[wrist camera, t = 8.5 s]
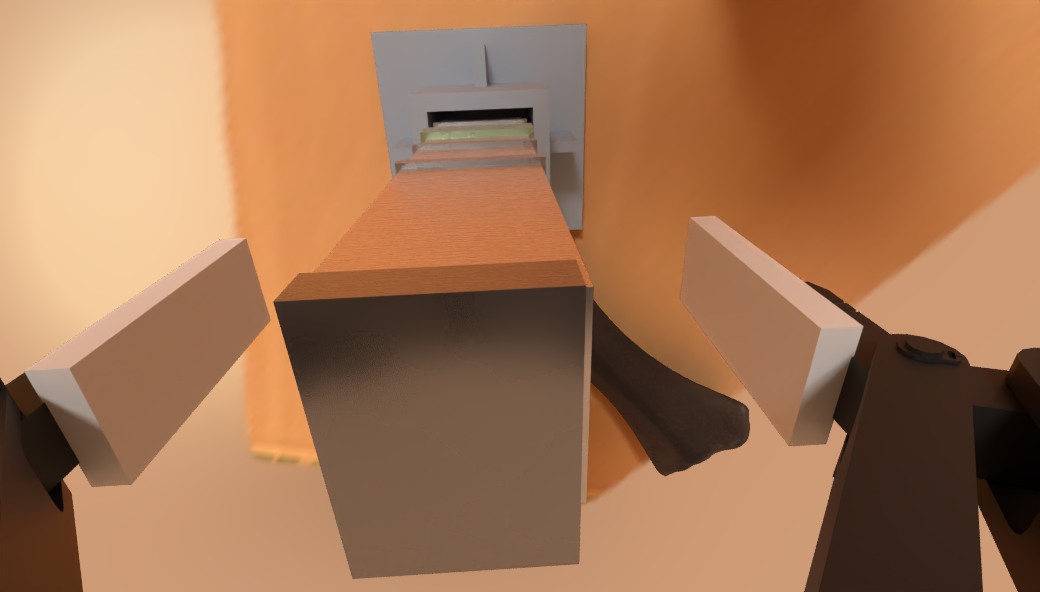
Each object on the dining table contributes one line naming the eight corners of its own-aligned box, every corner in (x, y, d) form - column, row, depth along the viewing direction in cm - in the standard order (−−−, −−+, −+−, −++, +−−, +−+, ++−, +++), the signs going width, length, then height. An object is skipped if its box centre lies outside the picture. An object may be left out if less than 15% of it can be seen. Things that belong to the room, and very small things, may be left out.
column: (436, 112, 31) (229, 303, 7) (525, 108, 31) (628, 283, 7) (446, 204, 34) (321, 580, 9) (527, 201, 34) (609, 562, 10)
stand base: (375, 33, 38) (329, 23, 27) (583, 25, 38) (616, 12, 28) (404, 232, 45) (376, 285, 34) (579, 224, 45) (604, 273, 35)
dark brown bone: (710, 398, 57) (534, 239, 51) (781, 419, 47) (573, 225, 41) (658, 476, 55) (469, 321, 49) (721, 516, 45) (493, 326, 39)
